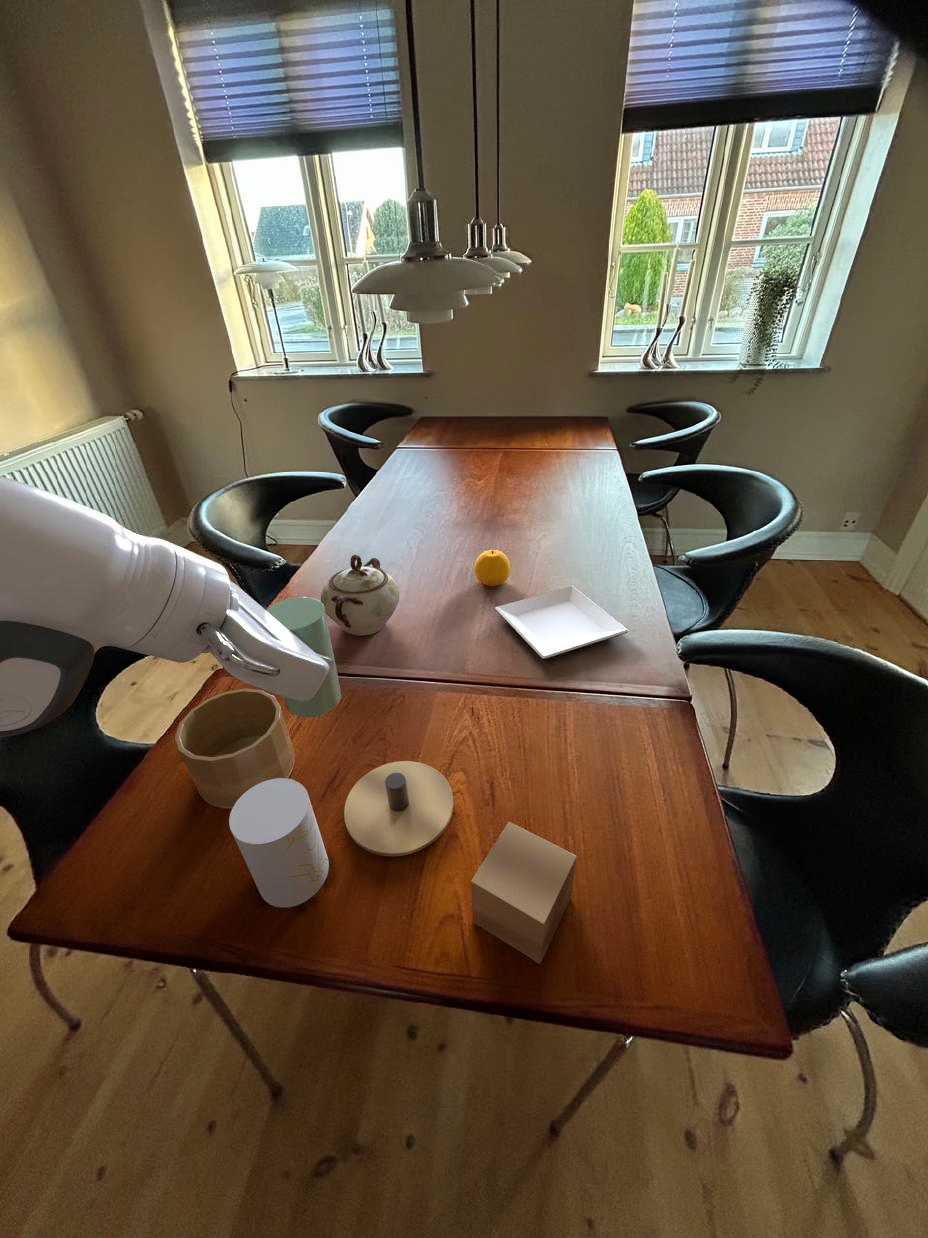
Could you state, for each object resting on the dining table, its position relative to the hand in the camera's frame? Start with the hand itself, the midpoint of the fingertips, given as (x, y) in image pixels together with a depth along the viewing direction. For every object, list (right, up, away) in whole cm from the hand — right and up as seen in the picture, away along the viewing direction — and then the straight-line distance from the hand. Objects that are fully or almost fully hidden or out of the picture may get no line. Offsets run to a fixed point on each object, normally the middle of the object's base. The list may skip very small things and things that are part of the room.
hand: (308, 649), depth 54 cm
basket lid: (+7, -21, +15) cm, 27 cm away
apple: (+22, +11, +65) cm, 70 cm away
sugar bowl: (-4, +2, +53) cm, 53 cm away
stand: (+22, -29, +4) cm, 37 cm away
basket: (-15, -19, +22) cm, 33 cm away
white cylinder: (-4, -27, +9) cm, 29 cm away
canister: (0, -5, +3) cm, 6 cm away
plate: (+34, +1, +49) cm, 60 cm away
